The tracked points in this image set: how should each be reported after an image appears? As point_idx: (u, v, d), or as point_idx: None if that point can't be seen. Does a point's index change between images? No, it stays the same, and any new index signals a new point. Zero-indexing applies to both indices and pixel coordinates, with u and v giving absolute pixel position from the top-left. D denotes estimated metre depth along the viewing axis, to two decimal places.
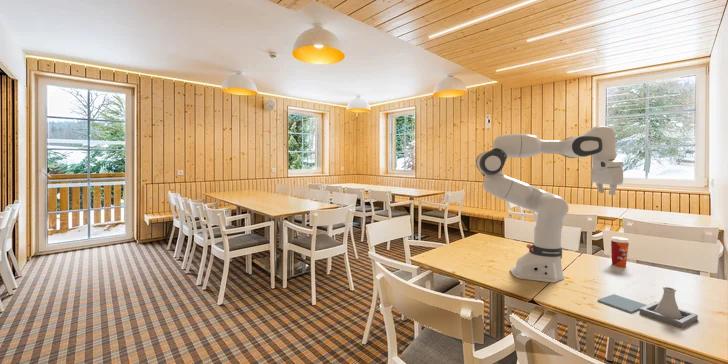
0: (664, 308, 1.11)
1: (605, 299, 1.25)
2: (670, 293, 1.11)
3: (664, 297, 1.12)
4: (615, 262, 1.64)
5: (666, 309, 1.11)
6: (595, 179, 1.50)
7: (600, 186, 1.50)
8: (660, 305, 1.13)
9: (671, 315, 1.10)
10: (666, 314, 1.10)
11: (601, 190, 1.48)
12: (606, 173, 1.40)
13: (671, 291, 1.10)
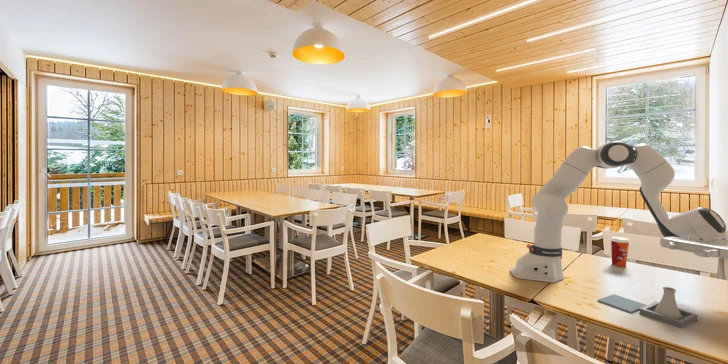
0: (664, 308, 1.11)
1: (605, 299, 1.25)
2: (670, 293, 1.11)
3: (664, 297, 1.12)
4: (615, 262, 1.64)
5: (666, 309, 1.11)
6: (676, 239, 1.24)
7: None
8: (660, 305, 1.13)
9: (671, 315, 1.10)
10: (666, 314, 1.10)
11: (674, 246, 1.20)
12: (716, 245, 1.16)
13: (671, 291, 1.10)
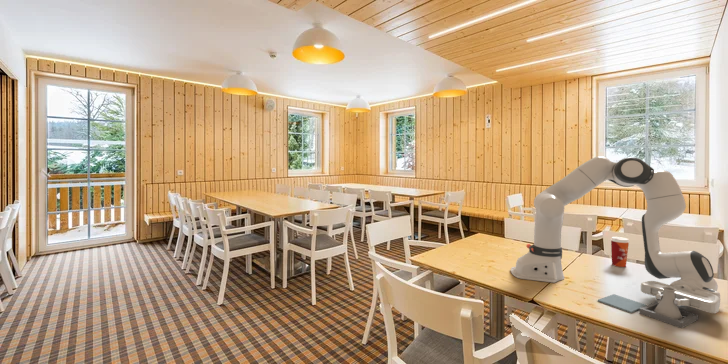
0: (664, 308, 1.11)
1: (605, 299, 1.25)
2: (670, 293, 1.11)
3: (664, 297, 1.12)
4: (615, 262, 1.64)
5: (666, 309, 1.11)
6: (656, 285, 1.19)
7: None
8: (660, 305, 1.13)
9: (671, 314, 1.10)
10: (666, 314, 1.10)
11: None
12: (697, 295, 1.12)
13: (671, 291, 1.11)
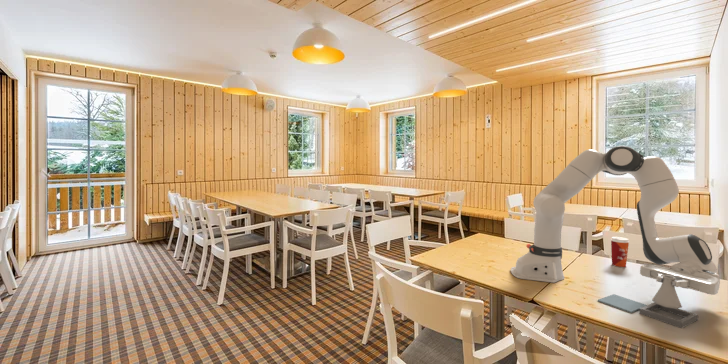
0: (664, 296, 1.11)
1: (605, 299, 1.25)
2: (670, 281, 1.11)
3: (664, 285, 1.12)
4: (615, 262, 1.64)
5: (666, 297, 1.10)
6: (656, 268, 1.19)
7: None
8: (660, 293, 1.13)
9: (671, 302, 1.10)
10: (666, 302, 1.10)
11: None
12: (696, 277, 1.11)
13: (671, 278, 1.10)
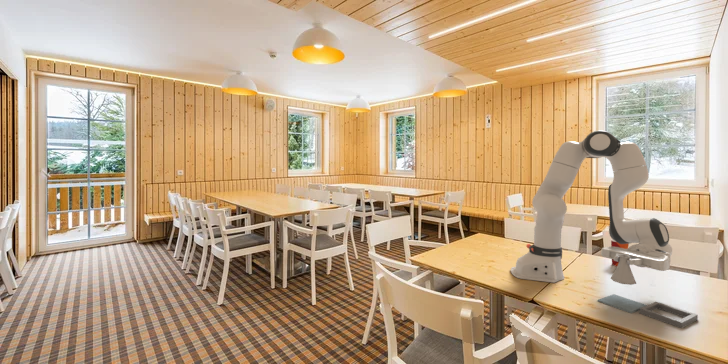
0: (620, 274, 1.21)
1: (605, 299, 1.25)
2: (625, 259, 1.20)
3: (620, 264, 1.21)
4: (615, 262, 1.64)
5: (622, 274, 1.20)
6: (615, 249, 1.29)
7: None
8: (616, 271, 1.22)
9: (626, 279, 1.19)
10: (622, 279, 1.20)
11: (619, 258, 1.23)
12: (649, 256, 1.21)
13: (626, 257, 1.20)
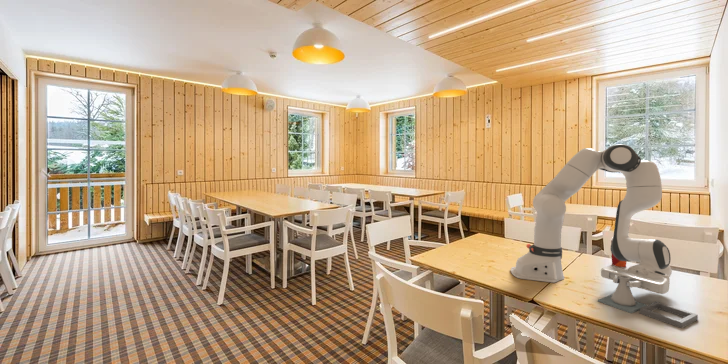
0: (620, 295, 1.21)
1: (605, 299, 1.25)
2: (625, 280, 1.21)
3: (620, 284, 1.22)
4: (615, 262, 1.64)
5: (622, 295, 1.20)
6: (614, 270, 1.29)
7: None
8: (616, 292, 1.23)
9: (626, 300, 1.20)
10: (622, 300, 1.20)
11: None
12: (649, 278, 1.22)
13: (626, 278, 1.20)
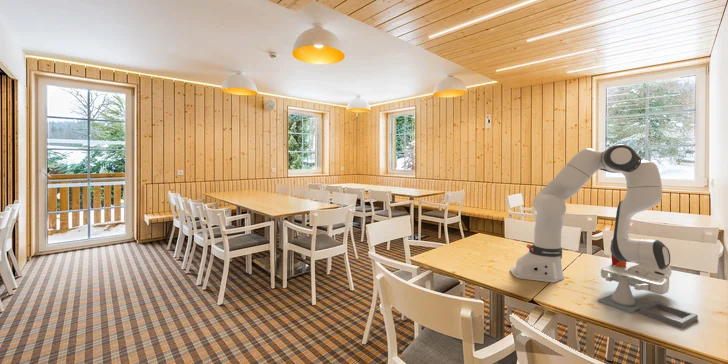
0: (620, 295, 1.21)
1: (605, 299, 1.25)
2: (625, 280, 1.21)
3: (620, 284, 1.22)
4: (615, 262, 1.64)
5: (622, 295, 1.20)
6: (614, 271, 1.29)
7: None
8: (616, 292, 1.23)
9: (626, 300, 1.20)
10: (622, 300, 1.20)
11: (611, 278, 1.26)
12: (648, 278, 1.22)
13: (626, 278, 1.20)
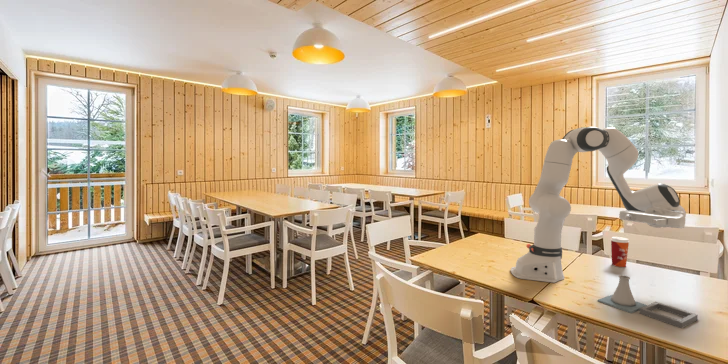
0: (620, 295, 1.21)
1: (605, 299, 1.25)
2: (625, 280, 1.21)
3: (620, 284, 1.22)
4: (615, 262, 1.64)
5: (622, 295, 1.20)
6: (632, 212, 1.38)
7: None
8: (616, 292, 1.23)
9: (626, 300, 1.20)
10: (622, 300, 1.20)
11: (630, 217, 1.34)
12: (666, 215, 1.30)
13: (626, 278, 1.20)
